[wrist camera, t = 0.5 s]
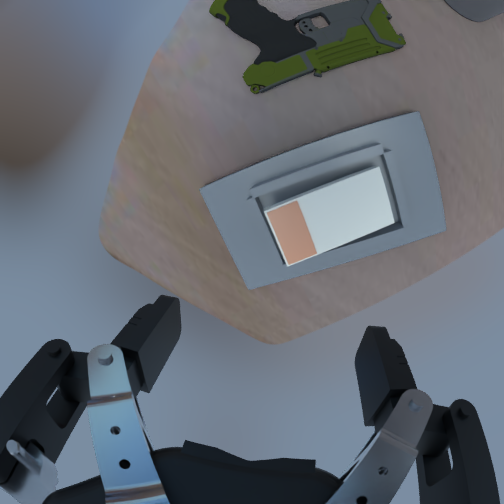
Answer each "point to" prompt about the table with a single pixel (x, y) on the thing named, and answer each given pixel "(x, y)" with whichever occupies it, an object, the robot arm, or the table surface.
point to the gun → (308, 38)
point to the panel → (322, 172)
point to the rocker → (330, 215)
